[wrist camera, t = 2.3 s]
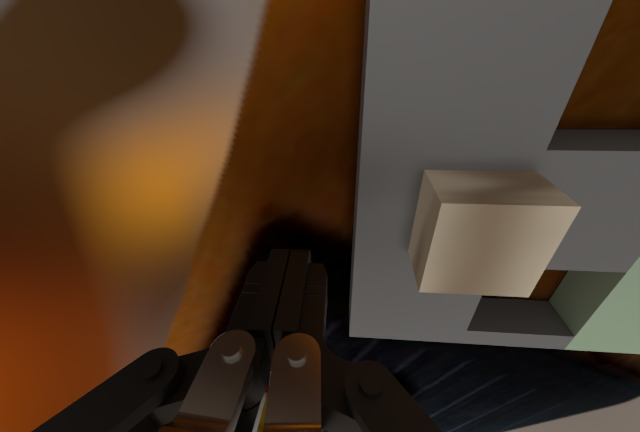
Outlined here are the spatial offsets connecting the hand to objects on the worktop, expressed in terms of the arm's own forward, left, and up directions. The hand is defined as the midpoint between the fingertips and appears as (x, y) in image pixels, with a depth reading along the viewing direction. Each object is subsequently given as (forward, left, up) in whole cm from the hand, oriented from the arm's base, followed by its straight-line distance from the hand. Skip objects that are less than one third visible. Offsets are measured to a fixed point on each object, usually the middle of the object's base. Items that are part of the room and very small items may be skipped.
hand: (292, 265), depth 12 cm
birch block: (-8, 0, -4) cm, 9 cm away
